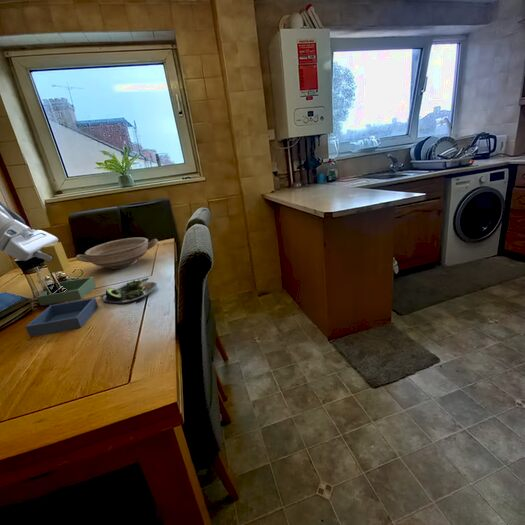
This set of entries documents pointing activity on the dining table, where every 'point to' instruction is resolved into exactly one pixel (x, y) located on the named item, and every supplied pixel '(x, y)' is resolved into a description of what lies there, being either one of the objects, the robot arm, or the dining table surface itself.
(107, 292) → the salad plate
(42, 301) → the green bin
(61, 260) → the yellow box
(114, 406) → the dining table surface
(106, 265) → the ceramic bowl
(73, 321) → the blue bin
